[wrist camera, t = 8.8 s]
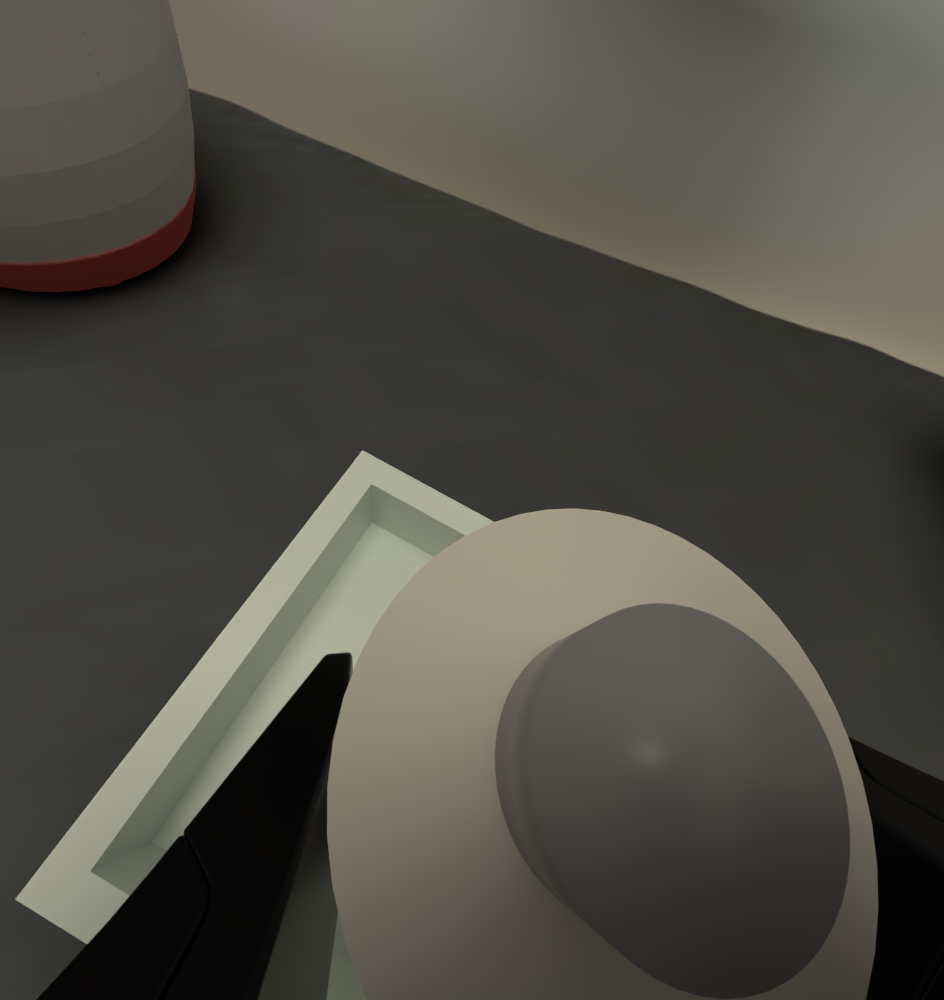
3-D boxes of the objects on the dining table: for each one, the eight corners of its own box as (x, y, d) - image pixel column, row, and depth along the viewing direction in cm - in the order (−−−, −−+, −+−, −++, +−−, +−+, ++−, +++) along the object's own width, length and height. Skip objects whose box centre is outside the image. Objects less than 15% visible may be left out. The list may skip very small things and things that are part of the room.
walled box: (521, 1112, 13) (575, 1249, 10) (105, 857, 14) (15, 899, 10) (650, 656, 20) (710, 639, 16) (364, 499, 21) (362, 450, 17)
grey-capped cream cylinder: (412, 880, 12) (731, 2020, 1) (332, 719, 13) (173, 644, 3) (545, 768, 14) (1142, 874, 3) (463, 635, 15) (685, 384, 4)
